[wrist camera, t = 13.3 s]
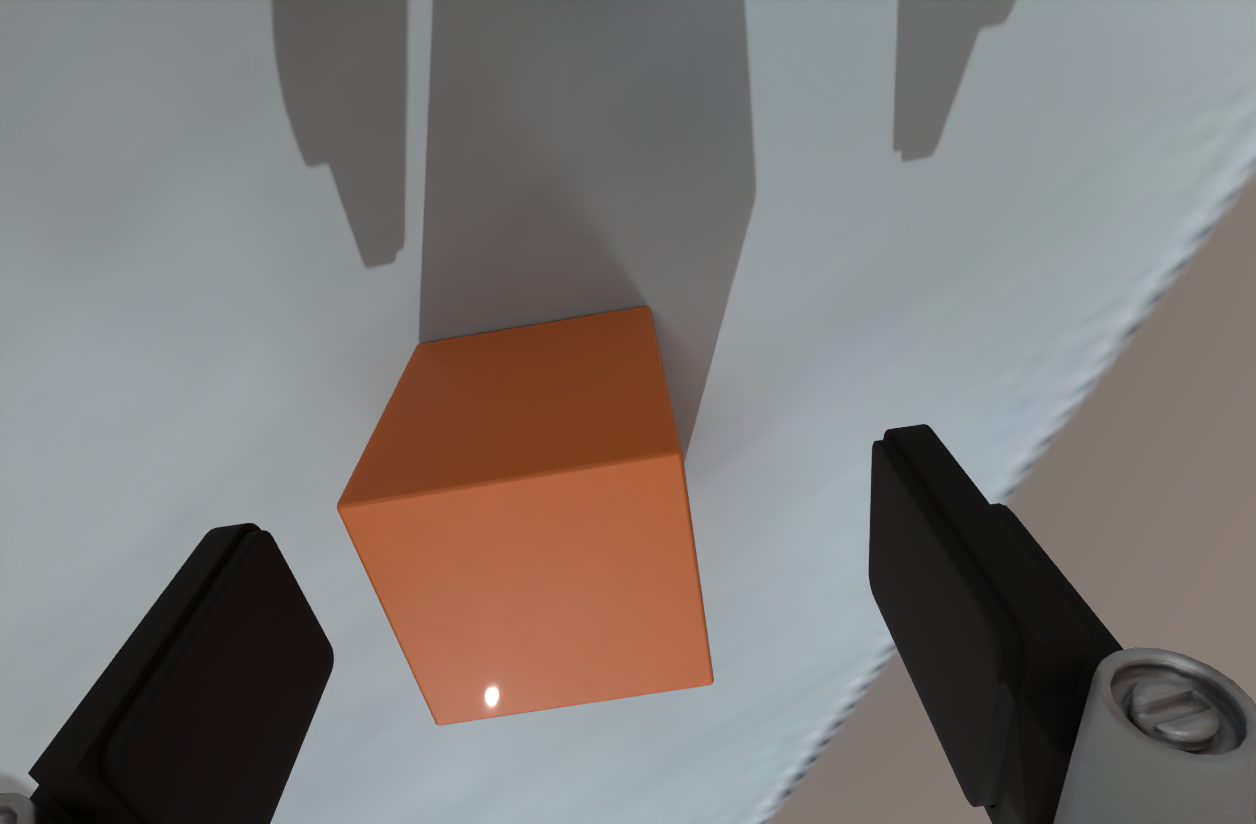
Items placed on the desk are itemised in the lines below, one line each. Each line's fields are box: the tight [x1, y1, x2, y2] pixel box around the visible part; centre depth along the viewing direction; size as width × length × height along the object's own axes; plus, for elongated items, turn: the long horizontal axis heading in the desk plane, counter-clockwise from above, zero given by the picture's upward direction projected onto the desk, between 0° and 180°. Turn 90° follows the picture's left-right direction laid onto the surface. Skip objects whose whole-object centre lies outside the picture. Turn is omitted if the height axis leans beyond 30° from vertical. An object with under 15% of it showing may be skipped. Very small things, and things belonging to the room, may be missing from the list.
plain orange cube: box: [337, 306, 714, 725], centre depth 12 cm, size 5×5×5 cm
